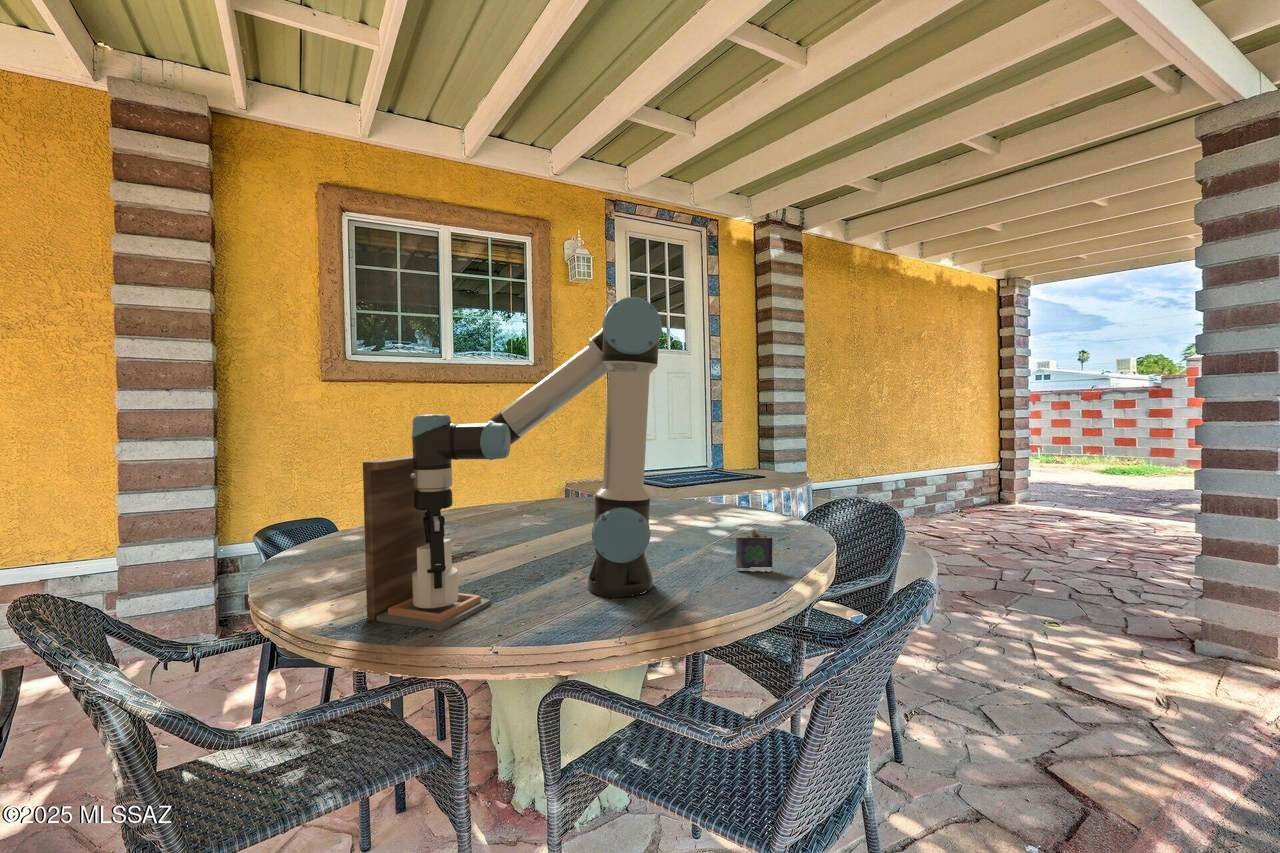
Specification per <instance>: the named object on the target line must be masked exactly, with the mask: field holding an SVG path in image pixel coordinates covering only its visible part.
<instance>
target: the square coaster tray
mask: <svg viewBox="0 0 1280 853" xmlns="http://www.w3.org/2000/svg"><path fill="white" fill-rule="evenodd" d="M458 597H459V598H458V600H457V601H456V602H455V603H453V604H450V605H447V606H443V607H437V608H419V607H416V606H414V605H413V598H411V599H409V600H407V601H404V602H402V603H400V604H397V605H395V606H393V607H390V608H388V611H387V612H385V613H382V614H380V615H378V616H377V620H376V622H380V623H381V622H382V623H387V624H395V625H401V626H406V625H407V626H408V627H412V626H415V627H414V628H419V627H422V628H421V629H425V628H428V629H427V630H431V629H434V630H433V631H437V632H442V631H444V630H447V629H448V628H449V627H451V626H454V625H456V624H457V623H459V622H461V621H463V620H465V619H467V618H468V617H470V616H472V615H474V614H475V613H476V614H477V613H478V612H480V611H481V610H483V609H486V607H489V606H491V605H492V601H491V599H487V598H481V597H482V595H477V594H470V593H461V592H458ZM407 626H406V627H407Z"/></svg>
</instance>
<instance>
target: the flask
mask: <svg viewBox="0 0 1280 853" xmlns="http://www.w3.org/2000/svg"><path fill="white" fill-rule="evenodd" d="M756 531H757V529H756V528H754V529H750V535H737V536H736V537H735V568H736V567H737V568H750V567H772V568H773V537H772V536H770V535H766V534H764V533H763V534H762V533H761V534H760V533H758V532H756Z"/></svg>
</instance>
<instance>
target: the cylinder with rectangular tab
mask: <svg viewBox="0 0 1280 853" xmlns="http://www.w3.org/2000/svg"><path fill="white" fill-rule="evenodd" d="M444 554H445V566H446V569H445V570H444V571H445V603H440V604H433V605H431V591H430V573H427V570H429V569H431V561H430V545H429V543H428V544H426V545H424V546H421V547H419V548H417V571H416V572H414V573H413V574H412V588H413V605H414V606H416V607H419V608H437V607H443V606H447V605H450V604H453V603H455V602H456V601H457V600H458V598H459V597H458V593H459V569H457V567H453V564H452V563H453V561H452V559H453V558H452V539H450V538H444ZM436 565H441V564H436Z"/></svg>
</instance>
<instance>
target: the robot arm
mask: <svg viewBox="0 0 1280 853" xmlns="http://www.w3.org/2000/svg"><path fill="white" fill-rule="evenodd" d="M662 331H663V324H662V318H661V316H660V314H659V312H658V310H657V309H656V307H655V306H654V305H653V304H652V303H651V302H649V301H647V300H646V299H644V298H641V297H638V296H635V297H634V296H630V297H629V296H627V297H624V298H621V299H619V300H617V301H616V302H614V303H613V304H612V305H610V307H609V308H608V309H607V310H606V311H605V314H604V317H603V319H602V328H600V329H599V331H598V332H596V333H595V334H594V335H593V336H591V337H590V338H589V340H588V344H587V346H585V347H584V348H583V349H581V350H580V351H579V352H578V353H576V354H575V355H574V356H572V357H571V358H570V359H569V360H567V361H566V362H564V363H563V364H562V365H561V366H559V367H558V368H556V369H555V370H554V371H553V372H551V373H550V374H549V375H547V376H545V378H544V379H542V380H540V382H537V384H535V385H534V386H532V387H531V388H530V389H529V390H527V391H525V393H523V394H522V395H520V396H519V397H518V398H517V399H515V400H514V401H513V402H511V403H510V404H509V405H507V406H506V407H504V408H503V409H502V410H501V411H499V412H498V413H496V414H495V415H494V416H492V417H491V418H490V419H489V420H487V421H485V422H480V423H473V422H472V423H454V422H453V423H452V421H451V416H450V415H449V414H417V415H415V416H414V417H413V419H412V432H411V433H412V435H411V440H412V441H411V445H412V456H413V469H414V472H415V474H411V475H410V478H412V479H413V478H415V479H414V488H416V489H417V490H416V491H415V492H414V507H415V508H416V509H418V510H427V511H425V516H424V517H423V523H424V531H425V535H426V544H428V543H429V545H430V561H431V569H429V570H427V573H430V591H431V605H433V604H440V603H445V571H444V570H445V569H446V566H445V554H444V539H445V524H446V518H445V516H444V514H441V510H443V509H445V510H446V509H448V508H451V507H452V506H453V490H452V489H451V487H452V486H453V467H452V466H453V465H452V461H453V460H454V461H457V460H488V461H493V460H502V459H506V458H508V457H509V455H510V451H511V445H513V444H514V443H515V442H516V441H519V440H520V439H521V438H522V437H523V436H524V435H525V434H527V433H528V432H529V431H531V430H533V429H534V428H535V427H537V426H538V425H539V424H541V423H542V422H543V421H544V420H546V419H547V418H548V417H550V416H551V415H552V414H554V413H555V412H556V411H558V410H559V409H561V408H562V407H563V406H565V405H567V403H568V402H570V401H571V400H573V399H574V398H575V397H576V396H578V395H579V394H580V393H582V392H584V391H585V390H586V389H587V388H589V387H590V386H592V384H594V383H596V382H597V381H598V380H600V379H601V378H602V377H603V376H605V375H607V373H608V376H607V377H608V379H607V398H606V400H607V402H606V418H605V435H604V436H605V437H604V438H605V439H604V453H603V454H604V457H603V472H602V474H603V475H602V476H603V477H602V486H601V487H600V488H599V489H598V490H596V492H595V493H594V500H593V505H594V509H593V524H592V529H591V539H592V543H593V545H594V548H595V549H594V551H595V552H594V553H595V554H594V559H593V562H592V565H591V568H590V570H589V571H590V572H589V575H588V579H587V580H588V581H587V583H588V584H587V588H588V591H589V592H590V593H592V594H594V595H597V596H601V597H606V596H607V597H606V598H624V597H623V596H631V597H633V596H632V595H637V594H640V593H643V592H645V591H648V590H649V589H651V588H652V586H654V584H653V583H654V581H653V579H654V578H653V575H652V572H651V570H650V566H649V563H648V560H647V557H646V550H647V548H648V545H649V543H650V540H651V529H650V525H649V524H650V510H651V509H650V506H651V503H650V502H651V495H650V494H649V493H648V492H647V491H646V489H645V488H644V486H645V484H644V483H645V467H646V465H645V464H646V449H647V448H646V446H647V430H648V408H649V396H650V395H649V392H650V375H651V373H652V372H654V370H655V369H656V368H657V367H658V363H659V362H658V361H659V360H658V359H659V343H660V342H659V341H660V338H661V335H662ZM436 564H441V565H436ZM652 589H653V588H652ZM652 589H651V590H652ZM637 596H638V595H637Z"/></svg>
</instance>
